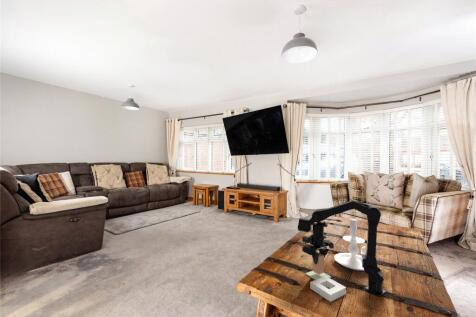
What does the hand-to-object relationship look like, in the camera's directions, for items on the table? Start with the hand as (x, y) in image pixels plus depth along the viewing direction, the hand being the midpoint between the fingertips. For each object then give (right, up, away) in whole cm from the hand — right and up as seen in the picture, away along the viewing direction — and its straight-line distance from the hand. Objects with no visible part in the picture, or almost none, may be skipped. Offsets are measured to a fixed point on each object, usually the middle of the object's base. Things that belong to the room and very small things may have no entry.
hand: (318, 263), depth 111 cm
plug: (0, -5, 0) cm, 5 cm away
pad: (0, -7, 0) cm, 7 cm away
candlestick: (+27, -7, +12) cm, 30 cm away
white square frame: (-1, -7, -13) cm, 15 cm away
